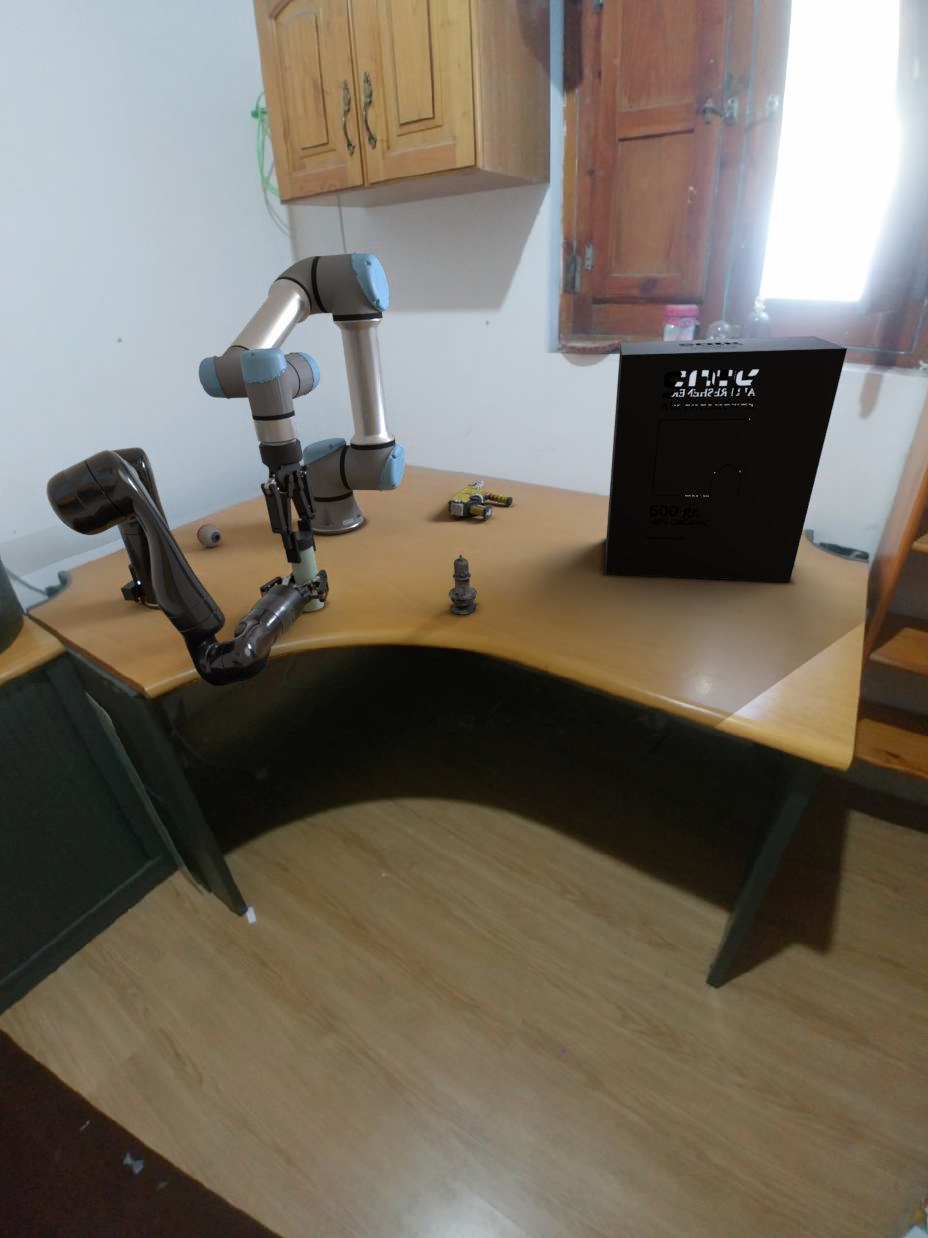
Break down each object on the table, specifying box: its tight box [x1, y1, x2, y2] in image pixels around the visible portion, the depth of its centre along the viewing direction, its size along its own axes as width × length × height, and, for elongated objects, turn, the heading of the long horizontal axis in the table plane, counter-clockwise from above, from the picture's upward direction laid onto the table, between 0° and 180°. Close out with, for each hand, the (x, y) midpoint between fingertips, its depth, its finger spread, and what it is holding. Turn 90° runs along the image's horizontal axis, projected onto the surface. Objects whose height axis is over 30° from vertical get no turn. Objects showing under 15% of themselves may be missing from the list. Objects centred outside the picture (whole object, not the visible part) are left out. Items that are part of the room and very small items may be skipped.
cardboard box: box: [605, 335, 848, 583], centre depth 127 cm, size 38×20×45 cm, turn 78°
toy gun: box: [447, 479, 514, 521], centre depth 175 cm, size 5×24×15 cm
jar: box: [290, 546, 325, 612], centre depth 124 cm, size 5×5×16 cm
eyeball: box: [196, 523, 223, 548], centre depth 159 cm, size 6×6×6 cm
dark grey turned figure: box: [448, 554, 478, 615], centre depth 121 cm, size 6×6×12 cm
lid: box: [294, 530, 313, 551], centre depth 121 cm, size 5×5×2 cm
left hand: (311, 573), depth 127 cm, fingers closed on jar, 5 cm apart
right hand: (302, 556), depth 123 cm, fingers closed on lid, 5 cm apart
